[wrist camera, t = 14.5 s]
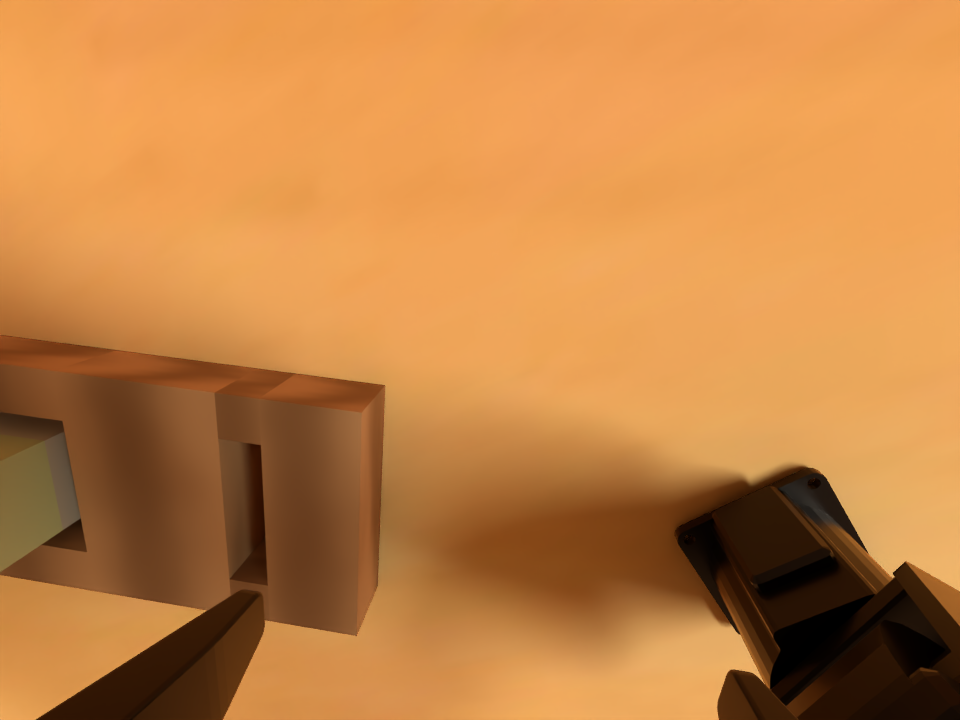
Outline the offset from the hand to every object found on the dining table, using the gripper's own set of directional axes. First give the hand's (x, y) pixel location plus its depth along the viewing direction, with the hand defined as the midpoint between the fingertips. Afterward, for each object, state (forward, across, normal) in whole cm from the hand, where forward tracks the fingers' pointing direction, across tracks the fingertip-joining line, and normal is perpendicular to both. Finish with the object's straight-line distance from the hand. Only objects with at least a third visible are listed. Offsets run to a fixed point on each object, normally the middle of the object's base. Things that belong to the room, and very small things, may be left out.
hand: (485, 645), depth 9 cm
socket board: (+12, +17, +5) cm, 21 cm away
